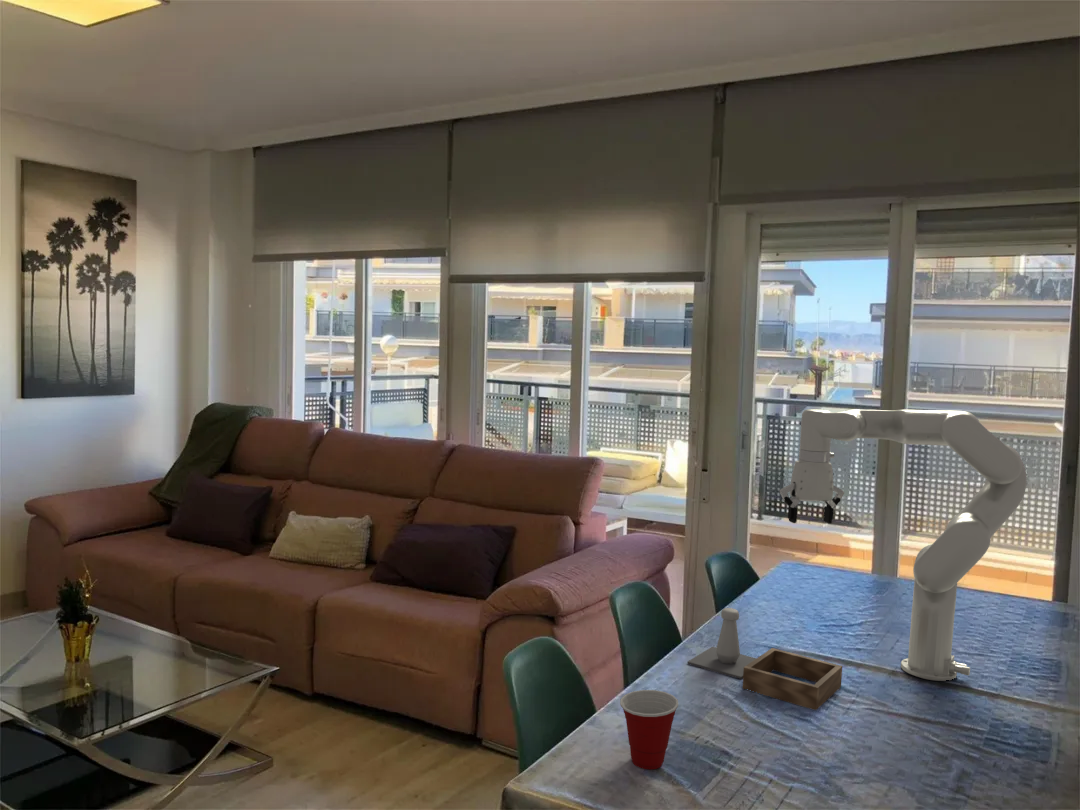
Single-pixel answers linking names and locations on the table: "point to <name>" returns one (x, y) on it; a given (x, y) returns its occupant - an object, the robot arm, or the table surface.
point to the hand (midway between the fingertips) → (810, 522)
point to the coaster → (712, 663)
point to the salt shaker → (728, 637)
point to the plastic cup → (648, 725)
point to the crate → (790, 689)
